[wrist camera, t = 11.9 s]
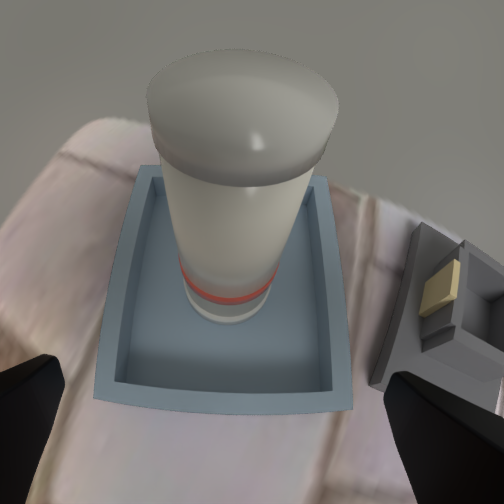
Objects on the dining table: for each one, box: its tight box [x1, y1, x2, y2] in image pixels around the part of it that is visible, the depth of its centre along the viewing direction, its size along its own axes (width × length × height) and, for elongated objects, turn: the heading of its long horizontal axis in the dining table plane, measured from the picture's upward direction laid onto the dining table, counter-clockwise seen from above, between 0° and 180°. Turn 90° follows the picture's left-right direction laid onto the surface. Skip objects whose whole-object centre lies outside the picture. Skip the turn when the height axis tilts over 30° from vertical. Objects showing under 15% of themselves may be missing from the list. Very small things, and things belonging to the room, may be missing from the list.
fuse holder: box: [369, 222, 504, 413], centre depth 15 cm, size 12×10×5 cm
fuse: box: [147, 49, 339, 325], centre depth 12 cm, size 5×5×12 cm
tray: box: [93, 165, 353, 415], centre depth 16 cm, size 14×12×2 cm
